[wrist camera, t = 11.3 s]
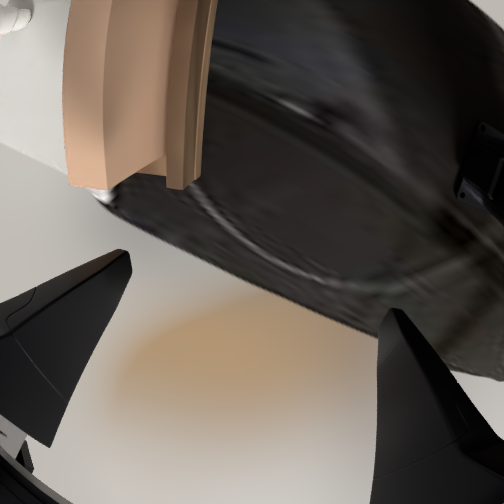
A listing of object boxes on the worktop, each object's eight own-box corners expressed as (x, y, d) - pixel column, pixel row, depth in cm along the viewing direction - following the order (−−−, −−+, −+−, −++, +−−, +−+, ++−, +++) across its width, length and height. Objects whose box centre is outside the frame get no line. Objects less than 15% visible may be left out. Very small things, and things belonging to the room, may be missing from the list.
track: (222, -24, 11) (207, -39, 8) (200, 175, 20) (184, 190, 17) (127, -9, 11) (104, -16, 9) (117, 166, 20) (96, 178, 18)
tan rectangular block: (181, -6, 11) (120, -35, 5) (167, 153, 18) (107, 190, 12) (143, 0, 11) (75, -17, 6) (133, 150, 18) (69, 185, 13)
